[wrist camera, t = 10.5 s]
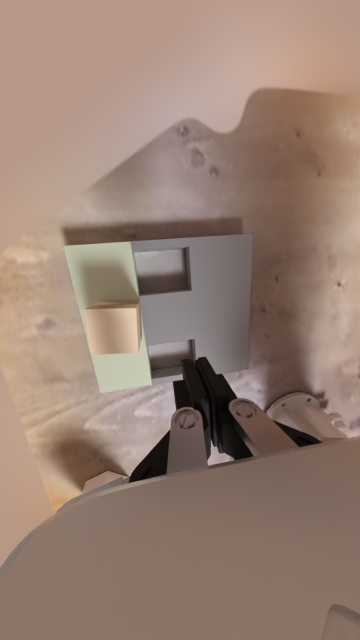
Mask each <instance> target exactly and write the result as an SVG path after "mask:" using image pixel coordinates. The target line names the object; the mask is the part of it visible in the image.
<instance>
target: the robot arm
mask: <svg viewBox="0 0 360 640" xmlns="http://www.w3.org/2000/svg"><path fill="white" fill-rule="evenodd" d="M181 363H182V374H183V380H177V381H173V387H174V396H175V404H176V412H175V413H174V414H173V415H172V419H171V429H170V430H169V431H168V432H167V434H166V435H165V436H164V437H163V438H162V439H161V440H160V441H159V443H158V444H157V445H156V446H155V447H154V448H153V449H152V450H151V451H150V453H149V454H148V455H147V456H146V457H145V458H144V459H143V460H142V462H141V463H140V464H139V465H138V466H137V467H136V468H135V470H134V471H133V472H132V474H131V476H130V477H127V478H125V479H123V476H122V477H120V478H118V479H115V480H113V481H111V482H109V483H107V484H104V485H102V486H100V487H98V488H95V489H93V490H91V491H89V492H87V493H84V494H82V495H80V496H78V497H75V498H73V499H71V500H70V501H68V502H67V503H65V504H64V505H63V506H62V507H61V508H60V509H59V510H58V511H57V513H55V514H54V515H52V516H51V517H49V518H48V519H47V520H45V521H44V522H42V523H41V524H40V525H39V526H37V527H36V528H35V529H34V530H32V531H31V532H30V533H29V534H28V535H27V536H26V537H25V538H24V539H23V540H22V541H21V542H20V543H19V544H18V545H17V547H16V548H15V549H14V550H13V551H12V553H11V554H10V555H9V556H8V558H7V559H6V560H5V562H4V563H3V564H2V566H1V567H0V640H360V436H359V437H352V438H348V437H347V436H346V435H345V434H344V433H343V432H341V431H344V430H346V425H345V424H344V423H343V422H342V421H341V419H342V417H341V415H340V414H339V413H337V412H335V413H330V414H326V413H325V412H324V411H323V410H321V406H320V404H319V402H318V401H317V400H316V399H315V398H314V397H312V396H311V395H309V394H307V393H302V392H296V393H291V394H288V395H285V396H283V397H281V398H279V399H278V400H277V401H275V402H274V403H273V404H272V405H271V406H270V407H269V409H268V410H267V412H266V413H265V412H264V411H263V410H262V409H261V408H260V407H259V406H258V405H257V404H255V403H254V402H253V401H251V400H248V399H244V398H237V396H236V395H235V393H234V392H233V390H232V389H231V387H230V386H229V384H228V382H227V381H226V379H225V378H224V376H223V375H222V374H216V373H215V371H214V369H213V368H212V366H211V364H210V363H209V361H208V359H207V358H206V357H199V358H197V360H195V365H194V362H193V361H190V359H184V360H181ZM211 440H212V444H213V446H214V447H215V446H217V448H218V451H219V453H226V454H227V455H229V456H230V461H229V462H224V463H219V464H214V465H210V466H208V463H207V460H208V459H209V457H210V455H211V449H210V447H211Z"/></svg>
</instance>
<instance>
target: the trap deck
mask: <svg viewBox="0 0 360 640" xmlns="http://www.w3.org/2000/svg"><path fill="white" fill-rule="evenodd" d="M63 248H64V252H65V256H66V260H67V264H68V268H69V272H70V275H71V279H72V283H73V287H74V291H75V295H76V299H77V303H78V307H79V311H80V314H81V318H82V322H83V326H84V330H85V334H86V338H87V342H88V346H89V340H88V333H87V326H86V320H85V313H84V309H85V308H87V307H89V306H91V305H93V304H94V303H96V302H98V301H109V300H140V306H141V324H142V339H141V344H140V349H139V353H122V354H103V355H91V357H92V361H93V365H94V369H95V373H96V377H97V381H98V385H99V389H100V392H101V393H104V392H110V391H116V390H122V389H128V388H134V387H140V386H146V385H155V384H161V383H167V382H173V381H177V380H183V374H182V365H181V366H175V367H168V368H162V369H156V370H151V364H150V357H149V351H148V345H155V344H162V343H169V342H177V341H184V340H191V339H192V353H193V362H194V365H195V360H197V358H199V357H206V358H207V359H208V361H209V363H210V364H211V366H212V368H213V369H214V371H215V373H216V374H221V373H227V372H233V371H239V370H245V369H248V363H249V334H250V306H251V277H252V248H253V233H251V234H236V235H221V236H205V237H190V238H175V239H159V240H144V241H130V242H115V243H100V244H85V245H69V246H63ZM175 249H185V251H186V265H187V280H188V289H181V290H171V291H161V292H151V293H142V294H140V290H139V284H138V277H137V270H136V263H135V257H134V252H147V251H161V250H175ZM89 350H90V347H89Z"/></svg>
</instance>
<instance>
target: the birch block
mask: <svg viewBox="0 0 360 640" xmlns="http://www.w3.org/2000/svg"><path fill="white" fill-rule="evenodd" d="M84 313H85V320H86V326H87V333H88V340H89V347H90V353H91V355H103V354H122V353H139V349H140V344H141V339H142V324H141V306H140V300H109V301H98V302H96V303H94V304H93V305H91V306H89V307H87V308H85V309H84Z"/></svg>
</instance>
